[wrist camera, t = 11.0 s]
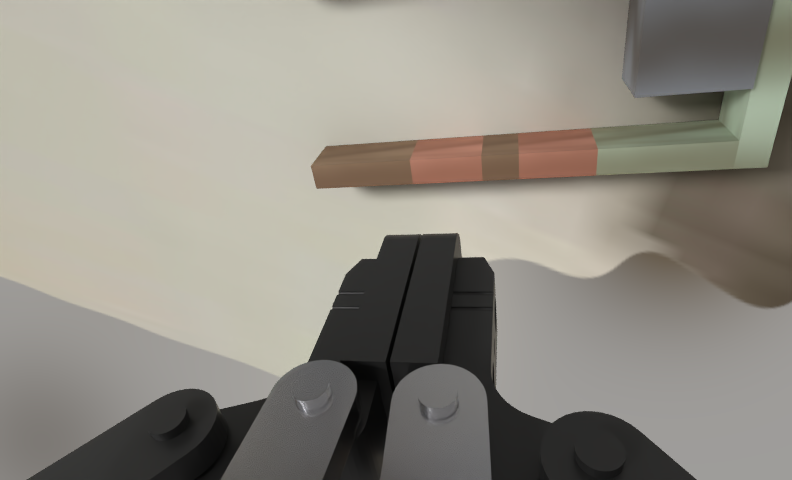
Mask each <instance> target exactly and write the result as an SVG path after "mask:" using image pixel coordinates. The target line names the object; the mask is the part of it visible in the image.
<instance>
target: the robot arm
mask: <svg viewBox="0 0 792 480" xmlns="http://www.w3.org/2000/svg"><path fill="white" fill-rule="evenodd" d="M496 351H497V319H496V299H495V278H494V272H493V271H492V269H491V267H490V266H489V264H488V263H487V261H486V259H485V258H484V257H472V258H462V255H461V245H460V237H459V234H458V233H452V234H423V235H421V234H418V235H387V236H385V238H384V241H383V243H382V246H381V249H380V252H379V254H378V257H377V259H362V260H361V261H360V262H359V263H357V264H356V265H355V266H354V267H353V268H352V269H351V270H350V271H349V272H348V273H347V274H346V276H345V278H344V280H343V283H342V285H341V287H340V290H339V295H337V296H336V299H335V301H334V303H333V309H332V310H330V313H329V315H328V317H327V320H326V322H325V324H324V326H323V329H322V331H321V333H320V336H319V338H318V340H317V343H316V345H315V347H314V349H313V352H312V354H311V356H310V359H309V361H308V362H307V363H304V364H302V365H299V366H297V367H295V368H293V369H292V370H290V371H289V372H287V373H286V374H285V375H284V376H283V377H281V378H280V380H279V381H278V382H277V383H276V384H275V386H274V387H273V389H272V390H271V393H270V394H269V396H268V397H267V398H265V399H262V400H258V401H254V402H250V403H246V404H241V405H237V406H233V407H228V408H224V409H220V410H219V408H218V406H217V404H216V402H215V400H214V398H213V397H212V396H211V395H210V394H209V393H207V392H205V391H203V390H199V389H184V390H179V391H176V392H172V393H170V394H167V395H165V396H163V397H161V398H159V399H157V400H156V401H154V402H152V403H151V404H149V405H148V406H146V407H144V408H143V409H141V410H139V411H138V412H136V413H134V414H133V415H131V416H130V417H128V418H126V419H125V420H123V421H121V422H120V423H118V424H117V425H115V426H113V427H112V428H110V429H109V430H107V431H105V432H104V433H102V434H100V435H99V436H97V437H95V438H94V439H92V440H91V441H89V442H88V443H86V444H84V445H83V446H81V447H79V448H78V449H76V450H74V451H73V452H71V453H70V454H68V455H66V456H65V457H63V458H61V459H60V460H58V461H57V462H55V463H53V464H52V465H50V466H48V467H47V468H45V469H44V470H42V471H40V472H39V473H37V474H35V475H34V476H32V477H31V478H29V479H27V480H696V479H695V478H694V477H693V476H692V475H691V474H689V473H688V472H687V471H686V470H685V469H683V468H682V467H681V466H680V465H679V464H678V463H676V462H675V461H674V460H673V459H672V458H671V457H669V456H668V455H667V454H666V453H665V452H664V451H662V450H661V449H660V448H659V447H658V446H657V445H655V444H654V443H653V442H652V441H651V440H649V439H648V438H647V437H646V436H645V435H644V434H642V433H641V432H640V431H639V430H638V429H636V428H635V427H633V426H632V425H631V424H629V423H627V422H625V421H624V420H622V419H619V418H617V417H615V416H612V415H609V414H605V413H599V412H592V411H583V412H575V413H571V414H568V415H565V416H563V417H561V418H559V419H558V420H556V421H555V422H553V423H550V422H547V421H544V420H541V419H538V418H535V417H532V416H530V415H527V414H525V413H523V412H521V411H519V410H517V409H515V408H514V407H512V406H511V405H510V404H508V403H507V402H506V401H505V400H504V399H503V398H502V397H501V396H500V394H499V393H498V391H497V390H496V359H497V358H496V357H497V356H496V355H497V352H496Z"/></svg>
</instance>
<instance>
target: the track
mask: <svg viewBox="0 0 792 480" xmlns="http://www.w3.org/2000/svg"><path fill="white" fill-rule="evenodd" d="M791 76H792V0H774V2H773V6H772V10H771V14H770V19H769V23H768V27H767V31H766V36H765V40H764V44H763V48H762V53H761V57H760V61H759V66H758V70H757V74H756V78H755V83H754V87H753V89H745V90H731V91H724V96H723V101H722V106H721V111H720V116H719V120H707V121H693V122H678V123H663V124H648V125H634V126H619V127H604V128H590V129H575V130H560V131H545V132H531V133H516V134H501V135H487V136H472V137H457V138H442V139H428V140H413V141H398V142H384V143H369V144H354V145H339V146H326V147H325V149H324V150H323V151H322V152H321V154H320V155H319V156H318V158H317V159H316V160H315V161H314V163H313V164H312V165H311V168H312V172H313V176H314V180H315V184H316V188H317V189H319V188H340V187H361V186H383V185H404V184H425V183H446V182H467V181H488V180H510V179H531V178H552V177H573V176H594V175H615V174H637V173H658V172H679V171H700V170H721V169H742V168H764V167H767V166H768V163H769V159H770V155H771V151H772V148H773V144H774V140H775V136H776V132H777V129H778V125H779V121H780V117H781V114H782V110H783V106H784V102H785V98H786V95H787V91H788V87H789V83H790V80H791Z"/></svg>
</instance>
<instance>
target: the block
mask: <svg viewBox="0 0 792 480" xmlns="http://www.w3.org/2000/svg"><path fill="white" fill-rule="evenodd" d="M773 2H774V0H630V1H629V12H628V22H627V32H626V43H625V53H624V63H623V73H622V79H623V81H624V82H625V84H626V85H627V87H628V88H629V90H630V91H631V93H632V94H633V96H634V97H635V98H638V97H651V96H665V95H678V94H691V93H705V92H718V91H731V90H745V89H753V87H754V83H755V78H756V74H757V70H758V66H759V61H760V57H761V53H762V48H763V44H764V40H765V36H766V31H767V27H768V23H769V19H770V14H771V10H772V6H773Z"/></svg>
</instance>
